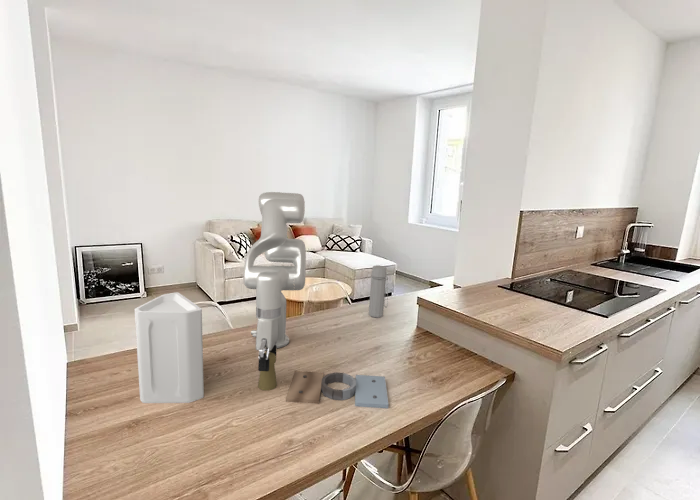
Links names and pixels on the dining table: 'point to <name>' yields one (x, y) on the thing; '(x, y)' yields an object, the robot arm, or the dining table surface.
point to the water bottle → (377, 291)
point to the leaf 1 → (313, 387)
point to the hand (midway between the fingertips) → (267, 363)
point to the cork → (268, 375)
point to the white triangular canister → (169, 350)
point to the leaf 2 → (366, 390)
